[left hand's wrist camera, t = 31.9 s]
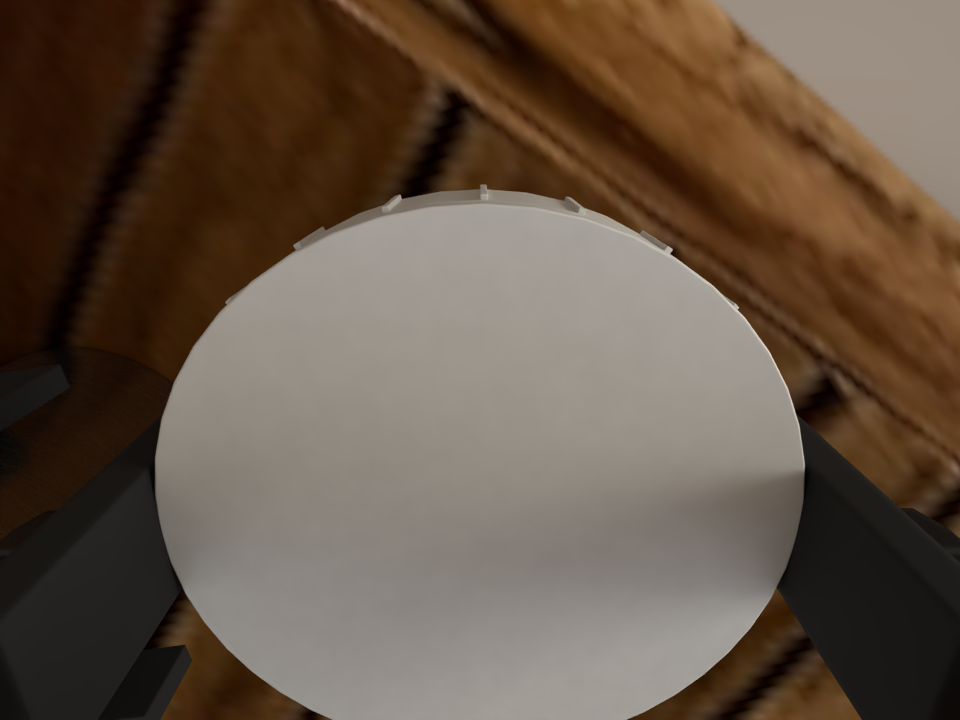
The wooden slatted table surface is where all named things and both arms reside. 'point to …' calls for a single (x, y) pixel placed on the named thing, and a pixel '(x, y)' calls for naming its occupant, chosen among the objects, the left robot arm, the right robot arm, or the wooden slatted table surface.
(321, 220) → the wooden slatted table surface
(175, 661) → the right robot arm
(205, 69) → the wooden slatted table surface
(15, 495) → the jar
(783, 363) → the wooden slatted table surface
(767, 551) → the lid
